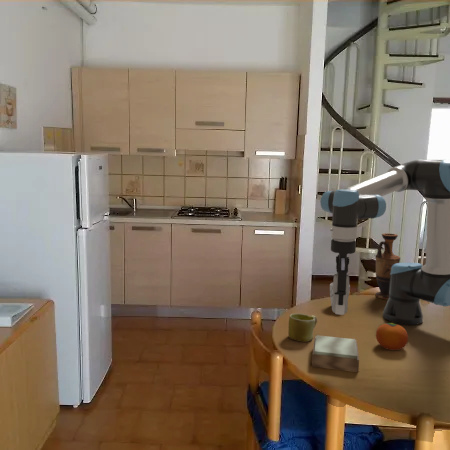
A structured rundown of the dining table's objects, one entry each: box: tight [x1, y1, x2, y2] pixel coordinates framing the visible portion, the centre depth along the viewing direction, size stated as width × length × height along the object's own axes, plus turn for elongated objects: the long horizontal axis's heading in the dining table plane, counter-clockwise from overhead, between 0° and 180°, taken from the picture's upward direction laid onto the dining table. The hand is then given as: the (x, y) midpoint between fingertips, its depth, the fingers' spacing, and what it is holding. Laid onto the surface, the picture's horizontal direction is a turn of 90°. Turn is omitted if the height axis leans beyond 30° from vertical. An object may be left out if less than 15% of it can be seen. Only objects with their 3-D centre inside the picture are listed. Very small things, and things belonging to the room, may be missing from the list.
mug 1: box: [288, 313, 318, 343], centre depth 164 cm, size 12×10×10 cm
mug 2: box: [329, 282, 351, 307], centre depth 196 cm, size 11×8×10 cm
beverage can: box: [331, 273, 350, 315], centre depth 143 cm, size 5×5×12 cm
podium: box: [311, 334, 360, 373], centre depth 146 cm, size 14×14×5 cm
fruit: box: [375, 322, 409, 351], centre depth 156 cm, size 11×10×8 cm
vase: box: [375, 232, 401, 300], centre depth 210 cm, size 11×11×30 cm
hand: (339, 310), depth 144 cm, fingers closed on beverage can, 5 cm apart
